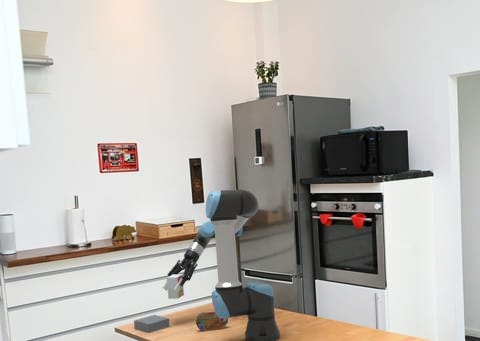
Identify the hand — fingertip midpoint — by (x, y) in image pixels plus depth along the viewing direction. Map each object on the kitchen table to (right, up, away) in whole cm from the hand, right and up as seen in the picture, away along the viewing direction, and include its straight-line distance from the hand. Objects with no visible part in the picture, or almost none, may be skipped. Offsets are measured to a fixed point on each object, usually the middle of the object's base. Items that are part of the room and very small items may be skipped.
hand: (170, 290), depth 236 cm
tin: (+21, -16, -11) cm, 29 cm away
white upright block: (+3, -4, +2) cm, 5 cm away
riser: (-8, -18, -3) cm, 20 cm away
